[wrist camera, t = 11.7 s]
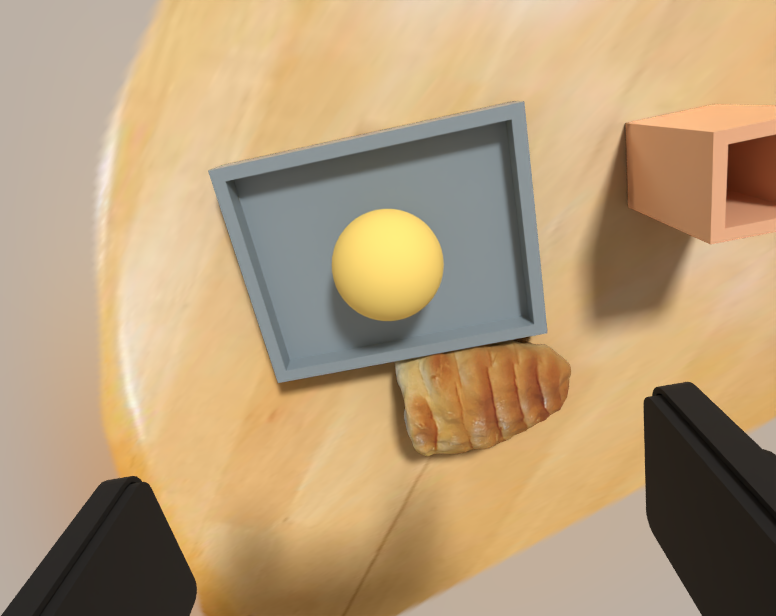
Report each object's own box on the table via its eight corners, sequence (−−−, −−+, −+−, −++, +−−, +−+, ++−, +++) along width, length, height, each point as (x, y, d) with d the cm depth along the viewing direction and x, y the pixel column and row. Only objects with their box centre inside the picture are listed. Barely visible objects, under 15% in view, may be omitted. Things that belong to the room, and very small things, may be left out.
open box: (713, 104, 24) (836, 106, 17) (711, 190, 25) (823, 222, 19) (625, 122, 24) (713, 132, 18) (628, 207, 26) (710, 244, 19)
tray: (513, 101, 24) (524, 101, 22) (536, 317, 28) (547, 333, 26) (221, 165, 25) (208, 170, 23) (285, 364, 29) (277, 383, 27)
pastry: (555, 309, 28) (580, 340, 24) (567, 412, 30) (591, 454, 27) (386, 344, 29) (386, 380, 25) (411, 442, 31) (415, 487, 28)
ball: (430, 189, 24) (436, 211, 20) (447, 287, 26) (456, 328, 22) (327, 210, 25) (310, 236, 20) (351, 304, 27) (340, 349, 22)
